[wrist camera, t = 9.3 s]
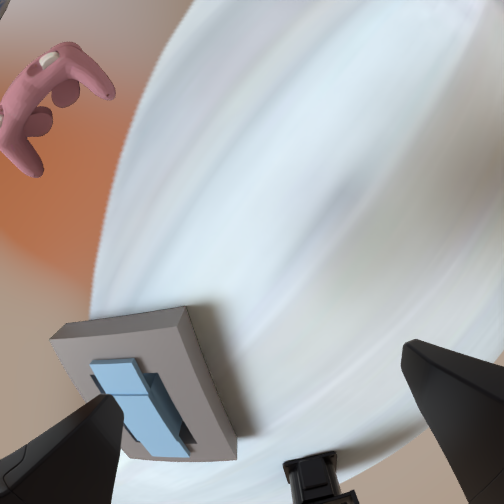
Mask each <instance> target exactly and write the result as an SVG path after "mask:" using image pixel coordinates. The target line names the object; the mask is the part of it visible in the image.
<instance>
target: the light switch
mask: <svg viewBox="0 0 504 504" xmlns="http://www.w3.org/2000/svg"><path fill="white" fill-rule="evenodd" d="M49 341H50V343H51V345H52V347H53V349H54V350H55V352H56V354H57V356H58V358H59V360H60V362H61V363H62V365H63V367H64V369H65V370H66V372H67V374H68V376H69V377H70V379H71V381H72V382H73V384H74V385H75V387H76V389H77V390H78V392H79V393H80V395H81V396H82V398H83V399H84V401H85V402H86V403H88V402H89V401H90V400H92V399H93V398H95V397H96V396H97V395H99V394H106V393H105V391H104V389H103V388H102V386H101V384H100V383H99V381H98V379H97V378H96V376H95V374H94V372H93V371H92V369H91V367H90V365H89V364H90V363H91V361H92V360H110V359H127V358H135V360H136V362H137V364H138V366H139V368H140V370H141V372H142V373H157V372H158V374H159V376H160V378H161V380H162V382H163V384H164V386H165V388H166V390H167V392H168V394H169V396H170V397H171V399H172V401H173V403H174V405H175V407H176V408H177V410H178V412H179V414H180V415H181V417H182V419H183V421H184V422H182V423H181V428H180V432H179V437H180V438H181V440H182V441H183V443H184V444H185V446H186V447H187V448H188V450H189V451H190V453H191V454H190V458H182V457H155V456H152V455H151V454H150V453H149V452H148V451H147V449H146V448H145V447H144V446H143V444H142V443H141V442H140V441H138V440H137V439H136V438H135V437H134V435H133V434H132V433H131V431H130V430H129V429H128V427H127V426H126V425H125V423H124V424H123V432H122V441H121V449H122V450H123V451H124V452H125V453H126V455H127V456H128V457H129V458H132V459H142V460H153V461H170V462H213V461H230V460H237V436H236V434H235V432H234V430H233V428H232V425H231V423H230V421H229V419H228V416H227V414H226V412H225V409H224V407H223V405H222V402H221V400H220V398H219V395H218V393H217V390H216V388H215V385H214V383H213V380H212V378H211V375H210V373H209V370H208V368H207V365H206V362H205V360H204V357H203V354H202V352H201V349H200V346H199V343H198V341H197V338H196V335H195V332H194V329H193V326H192V323H191V320H190V317H189V314H188V311H187V308H186V306H183V307H177V308H171V309H165V310H159V311H153V312H146V313H140V314H133V315H126V316H119V317H112V318H105V319H97V320H89V321H82V322H73V323H66V324H65V325H64V326H63V327H62V328H61V329H59V330H58V331H57V332H56V333H55V334H54V335H53V336H52V337H51V338H50V339H49Z"/></svg>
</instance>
